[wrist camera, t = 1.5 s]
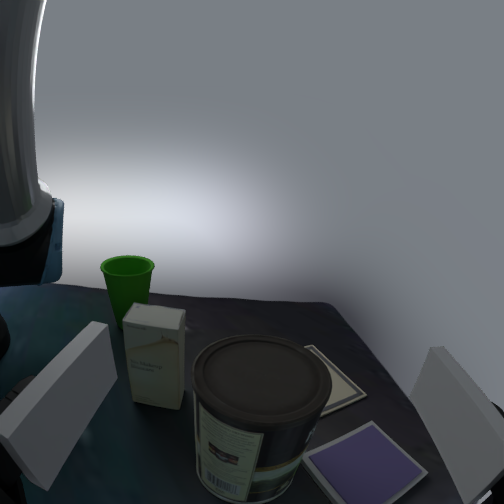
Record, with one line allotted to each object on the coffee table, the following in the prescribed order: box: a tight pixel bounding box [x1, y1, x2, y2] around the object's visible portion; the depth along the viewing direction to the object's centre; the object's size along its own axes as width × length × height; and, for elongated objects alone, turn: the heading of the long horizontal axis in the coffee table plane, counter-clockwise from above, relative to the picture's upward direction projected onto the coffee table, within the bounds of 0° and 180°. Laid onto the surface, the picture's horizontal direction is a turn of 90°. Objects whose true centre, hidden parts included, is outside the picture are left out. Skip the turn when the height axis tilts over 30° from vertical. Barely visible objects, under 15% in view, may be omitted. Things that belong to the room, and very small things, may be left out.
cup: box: [100, 255, 155, 329], centre depth 45 cm, size 9×9×11 cm
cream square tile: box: [305, 345, 367, 417], centre depth 38 cm, size 14×14×1 cm
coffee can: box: [191, 335, 332, 504], centre depth 22 cm, size 10×10×14 cm
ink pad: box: [300, 421, 428, 504], centre depth 23 cm, size 11×11×1 cm
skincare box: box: [122, 303, 185, 410], centre depth 31 cm, size 6×4×12 cm
